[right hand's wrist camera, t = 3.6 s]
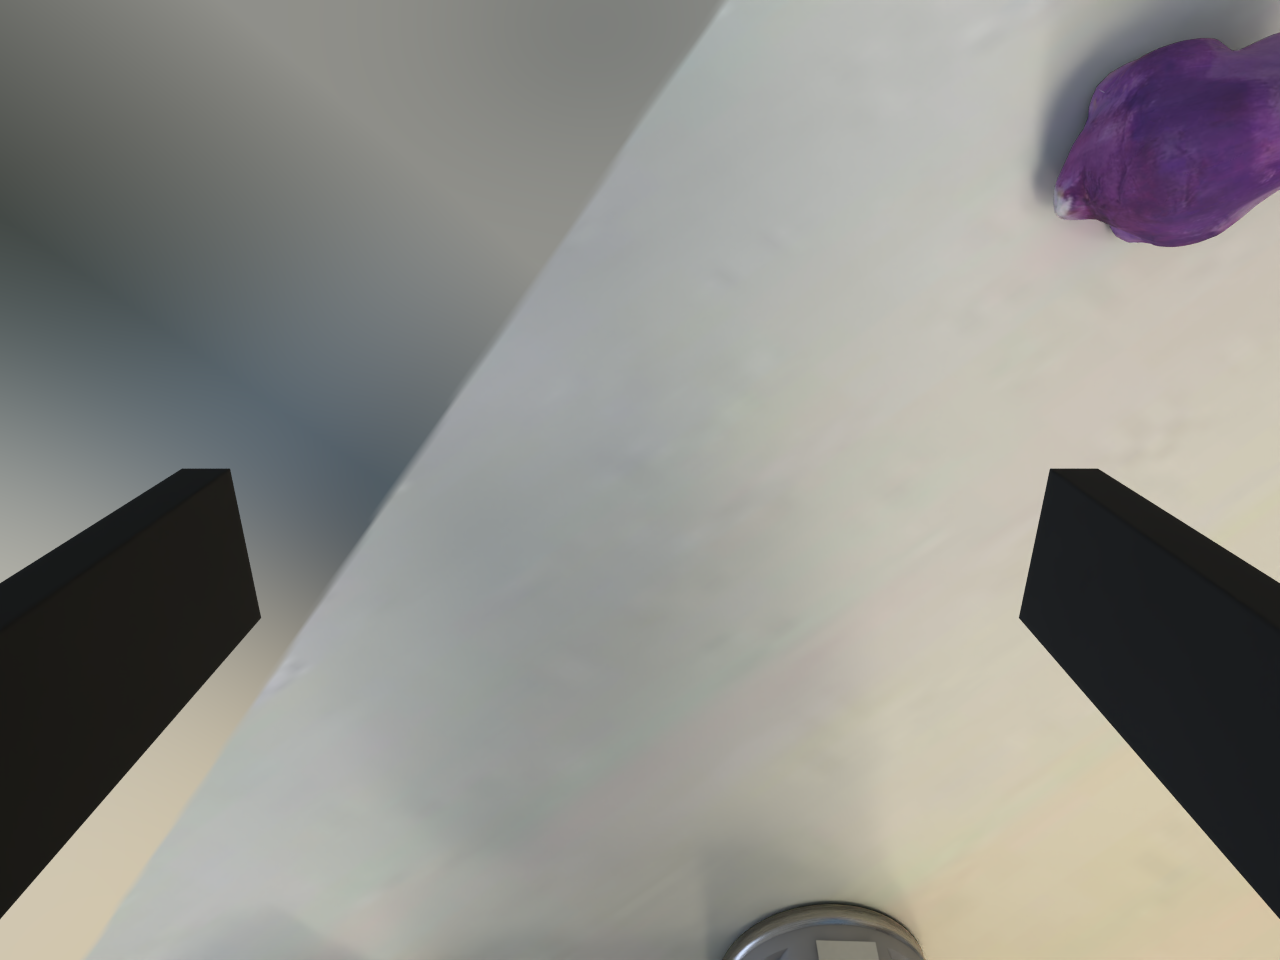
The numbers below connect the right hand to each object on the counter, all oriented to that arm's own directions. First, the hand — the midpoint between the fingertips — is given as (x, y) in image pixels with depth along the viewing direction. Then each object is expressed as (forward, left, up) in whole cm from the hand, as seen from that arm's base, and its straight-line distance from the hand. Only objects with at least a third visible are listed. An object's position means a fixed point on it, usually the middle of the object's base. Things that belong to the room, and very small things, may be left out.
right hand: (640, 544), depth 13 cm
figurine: (+8, -24, -28) cm, 38 cm away
